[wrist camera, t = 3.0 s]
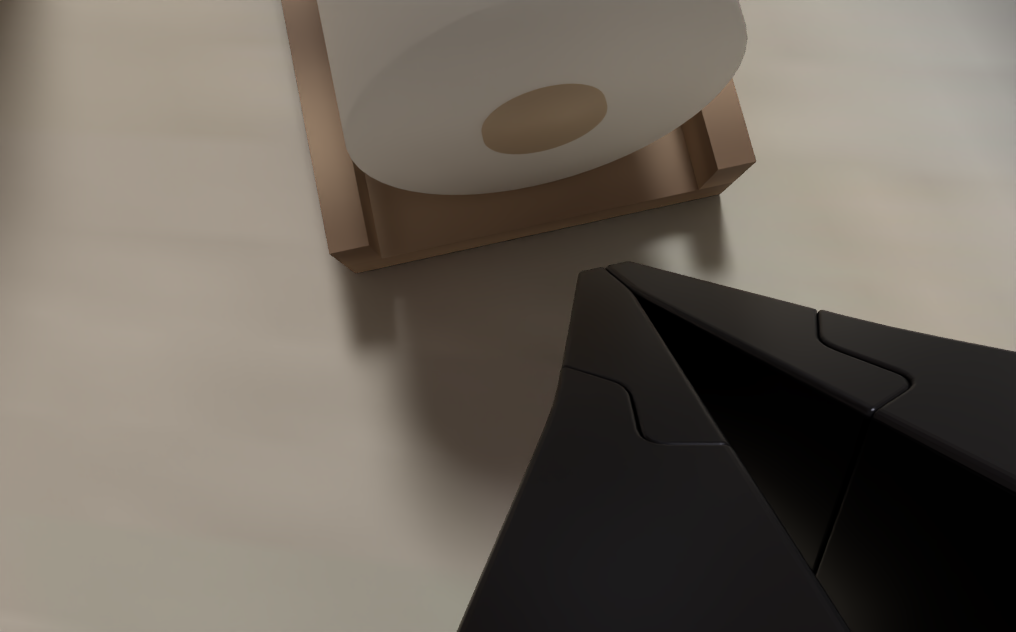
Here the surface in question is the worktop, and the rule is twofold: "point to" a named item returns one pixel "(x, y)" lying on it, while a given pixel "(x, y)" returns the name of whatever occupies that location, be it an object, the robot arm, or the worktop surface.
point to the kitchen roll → (519, 84)
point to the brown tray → (501, 215)
